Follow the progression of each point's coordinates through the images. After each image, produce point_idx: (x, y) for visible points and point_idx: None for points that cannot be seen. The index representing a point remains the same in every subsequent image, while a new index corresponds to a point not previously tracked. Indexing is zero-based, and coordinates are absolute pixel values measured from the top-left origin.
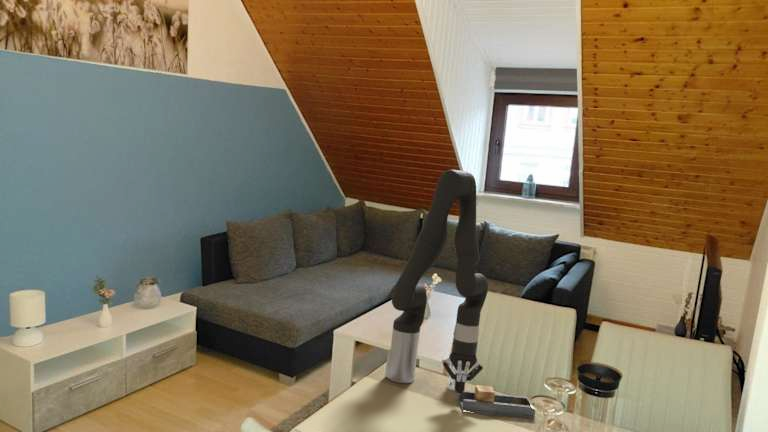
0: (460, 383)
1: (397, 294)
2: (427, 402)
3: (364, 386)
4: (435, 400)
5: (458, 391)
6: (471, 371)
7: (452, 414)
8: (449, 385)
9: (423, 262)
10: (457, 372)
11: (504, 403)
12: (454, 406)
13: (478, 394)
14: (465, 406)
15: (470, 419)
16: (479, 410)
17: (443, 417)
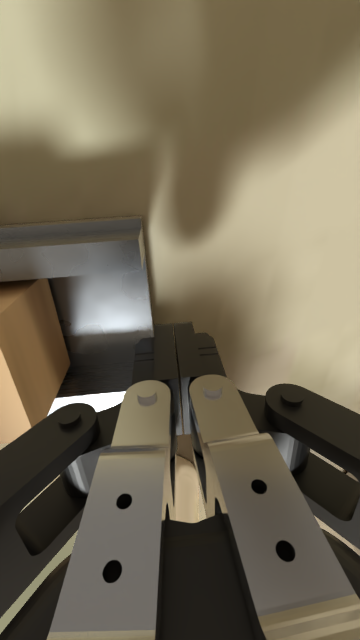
0: (180, 368)
1: None
2: (335, 294)
3: None
4: (282, 333)
5: (183, 325)
6: (39, 551)
7: (214, 158)
8: (193, 480)
9: None
10: (275, 451)
11: None
12: (186, 289)
13: (5, 309)
14: (124, 232)
15: (89, 102)
16: (24, 232)
17: (289, 76)
